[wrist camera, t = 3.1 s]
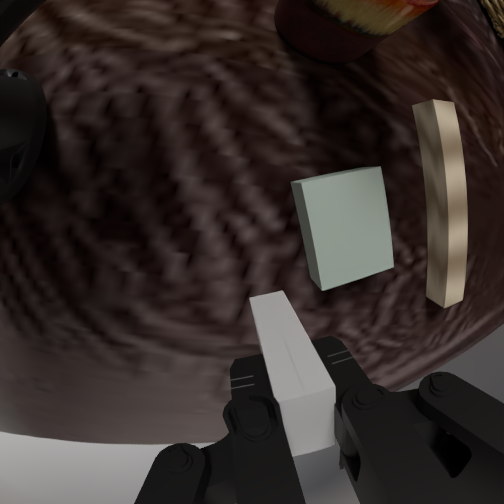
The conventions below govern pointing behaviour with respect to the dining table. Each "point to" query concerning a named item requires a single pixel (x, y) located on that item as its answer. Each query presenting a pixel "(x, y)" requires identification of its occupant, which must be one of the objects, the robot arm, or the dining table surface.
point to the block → (344, 225)
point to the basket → (495, 14)
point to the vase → (342, 25)
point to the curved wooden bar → (443, 200)
